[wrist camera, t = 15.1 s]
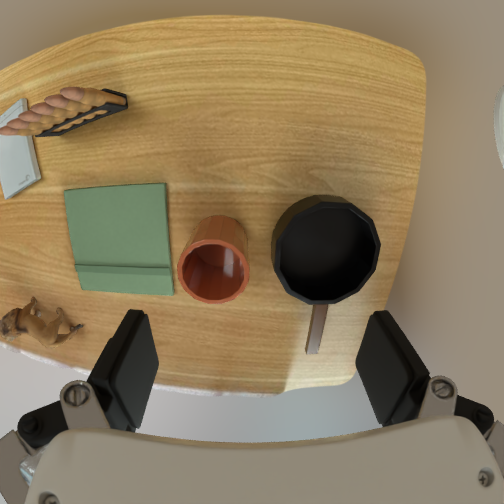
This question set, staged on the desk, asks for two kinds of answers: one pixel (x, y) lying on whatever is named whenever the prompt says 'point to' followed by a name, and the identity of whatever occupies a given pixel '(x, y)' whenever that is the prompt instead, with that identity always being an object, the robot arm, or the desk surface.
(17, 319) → the lion figurine
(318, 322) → the pan
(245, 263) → the cup
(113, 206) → the notepad
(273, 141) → the desk surface
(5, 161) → the hard drive
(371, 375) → the robot arm
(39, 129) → the ammunition clip
